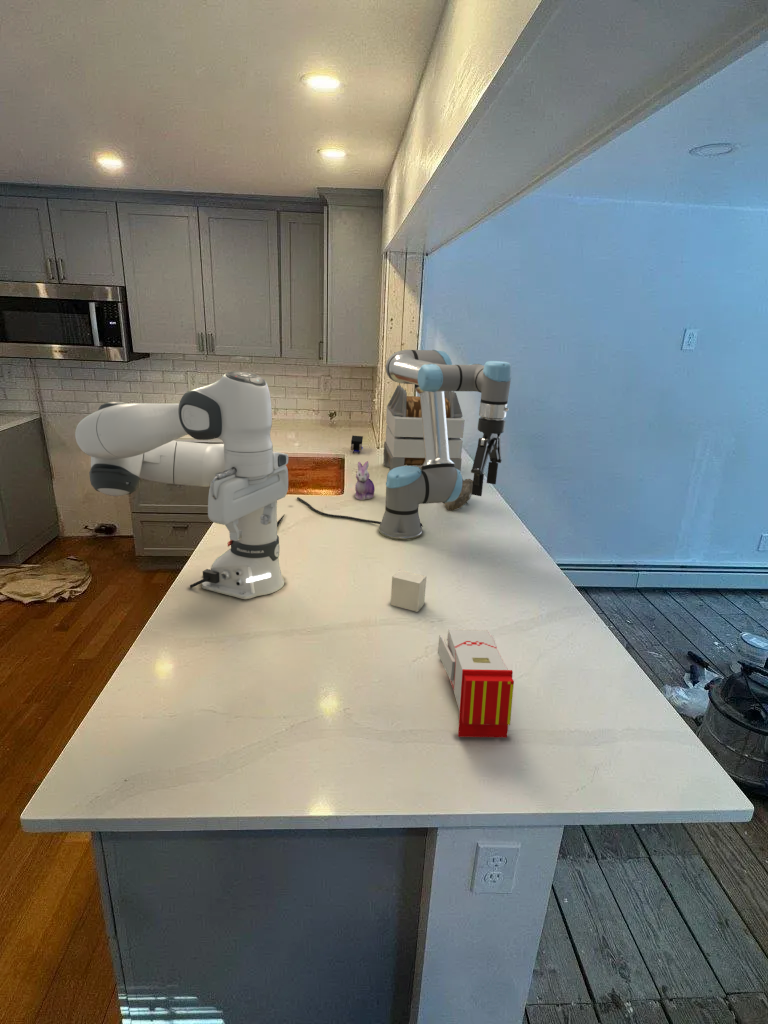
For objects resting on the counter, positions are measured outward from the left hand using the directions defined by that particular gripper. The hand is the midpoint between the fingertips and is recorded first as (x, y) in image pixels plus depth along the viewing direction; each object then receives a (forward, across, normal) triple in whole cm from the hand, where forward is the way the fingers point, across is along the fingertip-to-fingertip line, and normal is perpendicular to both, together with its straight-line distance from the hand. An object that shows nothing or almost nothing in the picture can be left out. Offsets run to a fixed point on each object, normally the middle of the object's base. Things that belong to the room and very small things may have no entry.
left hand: (251, 531), depth 110 cm
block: (+33, +44, -17) cm, 57 cm away
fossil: (+33, +132, -2) cm, 136 cm away
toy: (+33, +16, -42) cm, 56 cm away
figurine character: (+33, +188, +73) cm, 204 cm away
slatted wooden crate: (+33, +166, +28) cm, 172 cm away
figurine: (+33, +119, +34) cm, 128 cm away
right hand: (+7, +76, -26) cm, 81 cm away
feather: (+33, +81, +49) cm, 100 cm away
